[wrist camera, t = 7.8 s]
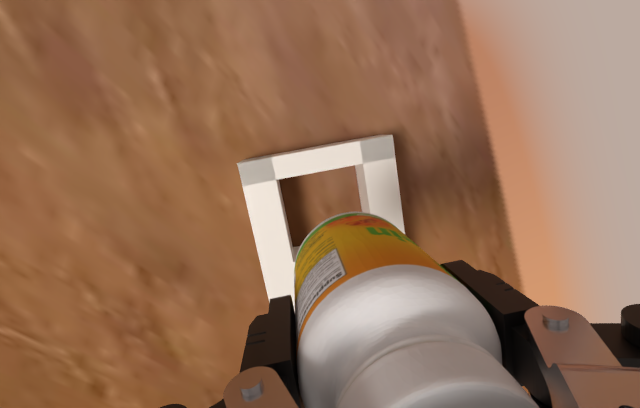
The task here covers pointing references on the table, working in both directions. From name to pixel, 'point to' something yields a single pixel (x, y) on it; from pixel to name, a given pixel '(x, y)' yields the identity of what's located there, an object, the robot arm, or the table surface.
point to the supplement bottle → (391, 325)
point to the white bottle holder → (265, 171)
